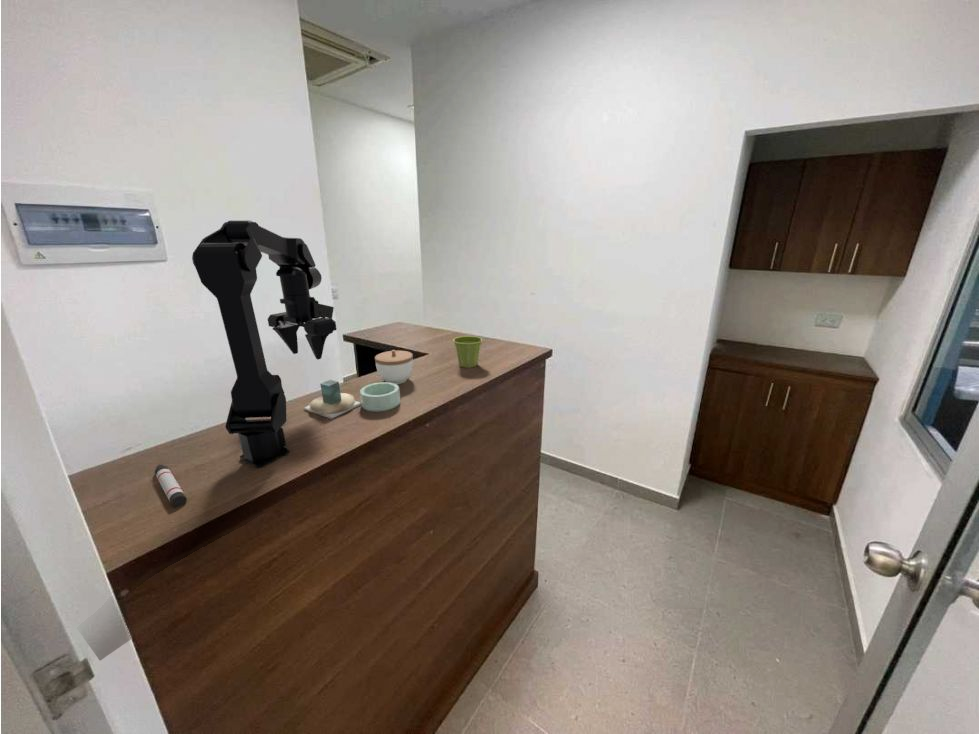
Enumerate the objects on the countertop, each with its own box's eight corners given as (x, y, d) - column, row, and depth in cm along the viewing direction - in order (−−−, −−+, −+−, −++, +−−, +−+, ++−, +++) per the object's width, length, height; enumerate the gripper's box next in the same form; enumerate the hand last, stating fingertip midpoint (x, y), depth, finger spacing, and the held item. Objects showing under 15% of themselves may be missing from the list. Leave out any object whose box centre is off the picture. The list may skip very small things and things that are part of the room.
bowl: (381, 414, 92) (379, 399, 90) (353, 406, 96) (351, 391, 95) (407, 400, 99) (406, 386, 98) (381, 393, 104) (379, 379, 102)
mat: (331, 418, 90) (331, 416, 90) (304, 409, 94) (304, 407, 94) (361, 404, 97) (360, 402, 97) (334, 396, 102) (334, 394, 102)
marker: (188, 503, 62) (185, 493, 62) (173, 509, 61) (169, 499, 60) (166, 467, 72) (163, 458, 71) (153, 472, 70) (150, 463, 70)
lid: (329, 418, 89) (325, 394, 87) (301, 408, 94) (296, 385, 92) (363, 401, 97) (360, 379, 95) (336, 393, 102) (333, 372, 100)
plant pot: (451, 362, 129) (450, 337, 126) (478, 359, 131) (477, 334, 128) (457, 371, 120) (456, 344, 117) (486, 368, 123) (485, 342, 120)
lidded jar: (405, 388, 107) (403, 356, 104) (370, 386, 109) (367, 354, 106) (420, 375, 117) (417, 346, 114) (387, 373, 119) (384, 344, 116)
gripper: (350, 292, 93) (358, 353, 98) (302, 287, 102) (311, 343, 107) (309, 298, 84) (320, 365, 89) (260, 292, 93) (273, 354, 98)
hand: (307, 356), depth 96 cm, fingers open, 9 cm apart
